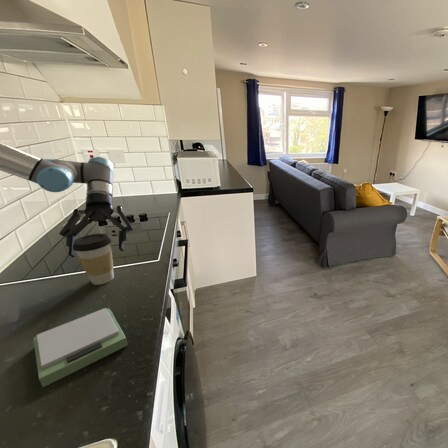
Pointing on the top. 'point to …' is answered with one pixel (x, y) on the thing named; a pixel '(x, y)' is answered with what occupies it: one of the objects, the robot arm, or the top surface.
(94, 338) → the kitchen scale
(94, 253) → the coffee cup
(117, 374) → the top surface
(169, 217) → the top surface
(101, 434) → the top surface
